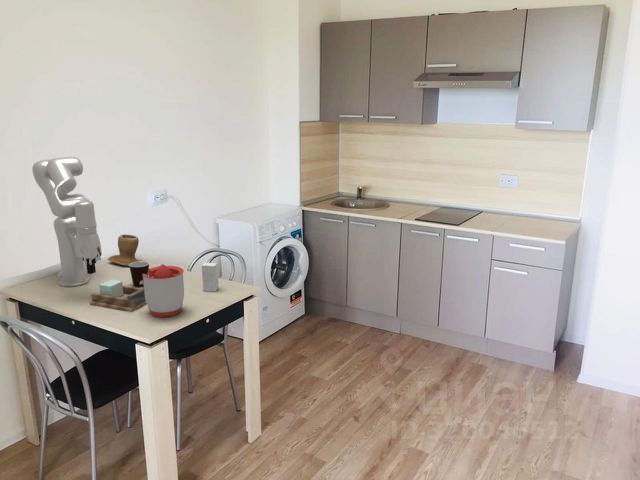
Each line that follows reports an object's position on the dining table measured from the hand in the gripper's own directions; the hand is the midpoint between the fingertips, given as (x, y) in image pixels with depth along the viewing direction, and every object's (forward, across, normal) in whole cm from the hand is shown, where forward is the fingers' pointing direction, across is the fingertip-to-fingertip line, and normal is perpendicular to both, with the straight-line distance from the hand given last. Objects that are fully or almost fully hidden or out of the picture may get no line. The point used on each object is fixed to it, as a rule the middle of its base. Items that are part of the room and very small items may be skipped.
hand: (91, 273), depth 227 cm
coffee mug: (+11, +8, +22) cm, 25 cm away
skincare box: (+12, +41, +26) cm, 50 cm away
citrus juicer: (+12, +37, -2) cm, 39 cm away
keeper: (+10, +9, 0) cm, 13 cm away
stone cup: (+10, -20, +44) cm, 50 cm away
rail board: (+11, +15, 0) cm, 19 cm away
